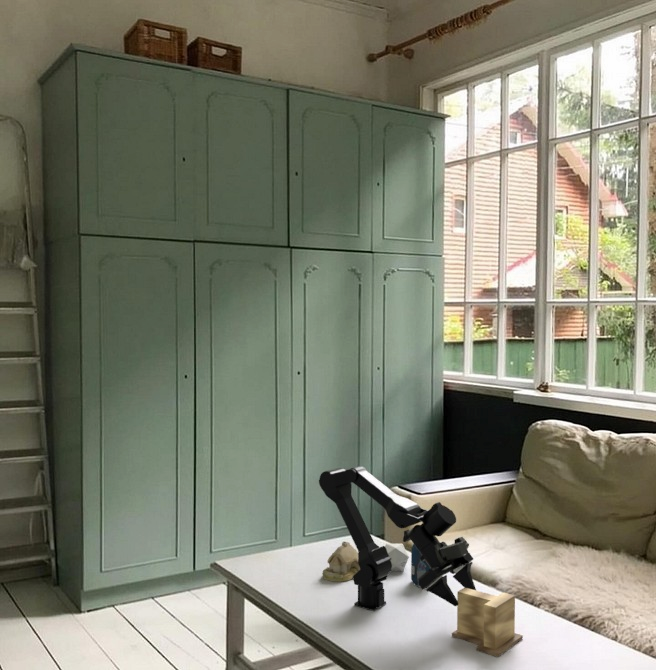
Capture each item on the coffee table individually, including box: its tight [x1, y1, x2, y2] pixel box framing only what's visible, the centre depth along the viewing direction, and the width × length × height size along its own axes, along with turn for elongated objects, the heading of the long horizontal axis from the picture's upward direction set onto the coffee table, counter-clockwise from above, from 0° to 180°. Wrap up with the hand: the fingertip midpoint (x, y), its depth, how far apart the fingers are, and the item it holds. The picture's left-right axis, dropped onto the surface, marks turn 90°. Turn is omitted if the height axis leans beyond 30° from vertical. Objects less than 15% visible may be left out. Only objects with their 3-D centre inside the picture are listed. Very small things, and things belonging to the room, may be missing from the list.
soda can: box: [410, 542, 431, 587], centre depth 225 cm, size 7×7×12 cm
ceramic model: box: [321, 541, 360, 582], centre depth 233 cm, size 14×11×10 cm
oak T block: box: [456, 587, 516, 650], centre depth 187 cm, size 12×10×10 cm
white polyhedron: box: [384, 543, 410, 572], centre depth 237 cm, size 8×9×10 cm
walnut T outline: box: [451, 629, 524, 658], centre depth 187 cm, size 14×13×1 cm
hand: (466, 599), depth 190 cm, fingers open, 9 cm apart
